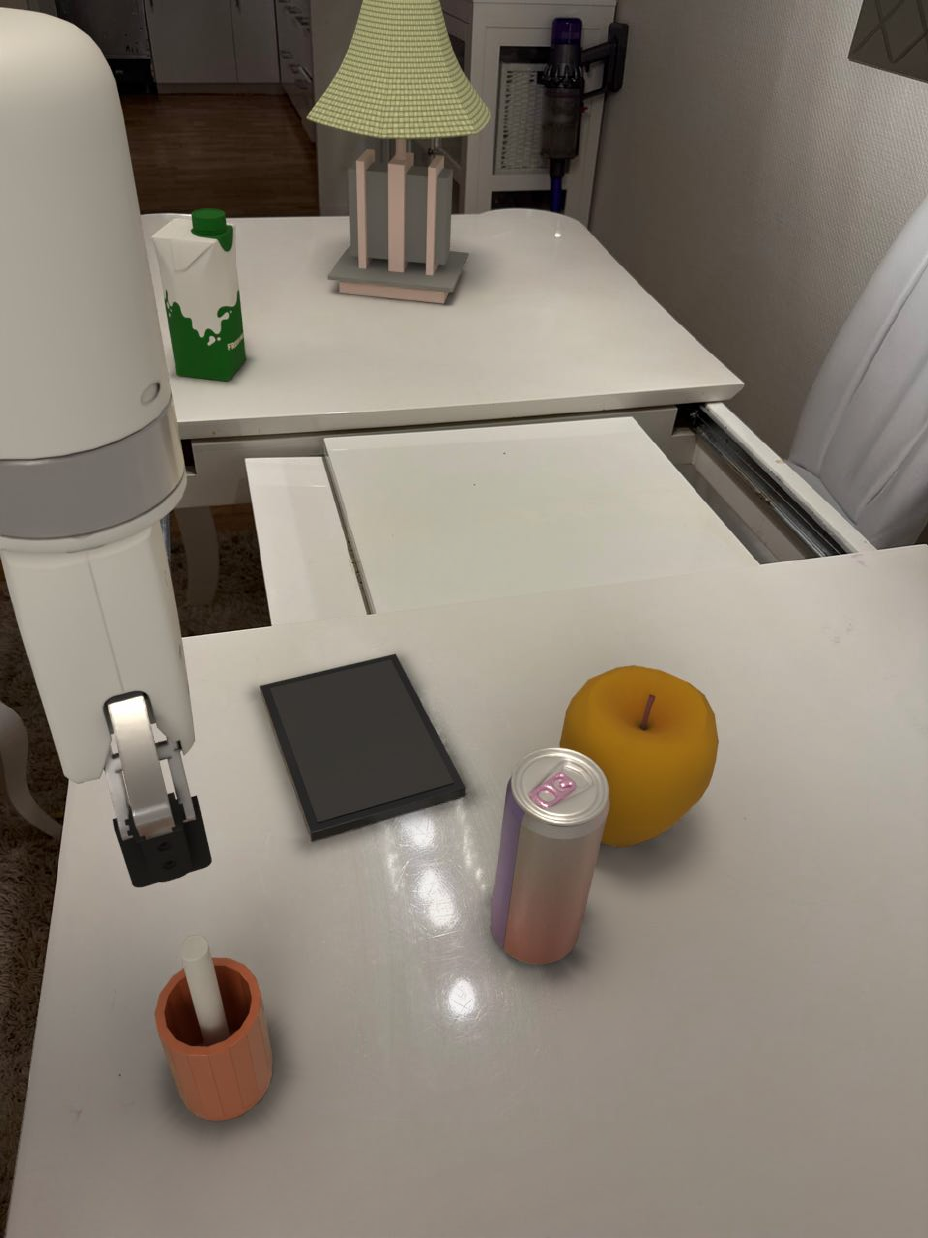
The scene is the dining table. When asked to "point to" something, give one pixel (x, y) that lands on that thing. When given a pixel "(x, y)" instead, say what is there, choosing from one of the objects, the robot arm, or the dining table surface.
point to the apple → (644, 747)
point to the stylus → (204, 989)
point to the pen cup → (217, 1044)
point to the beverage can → (547, 853)
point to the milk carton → (202, 294)
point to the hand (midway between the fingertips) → (154, 786)
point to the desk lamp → (400, 150)
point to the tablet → (358, 746)
